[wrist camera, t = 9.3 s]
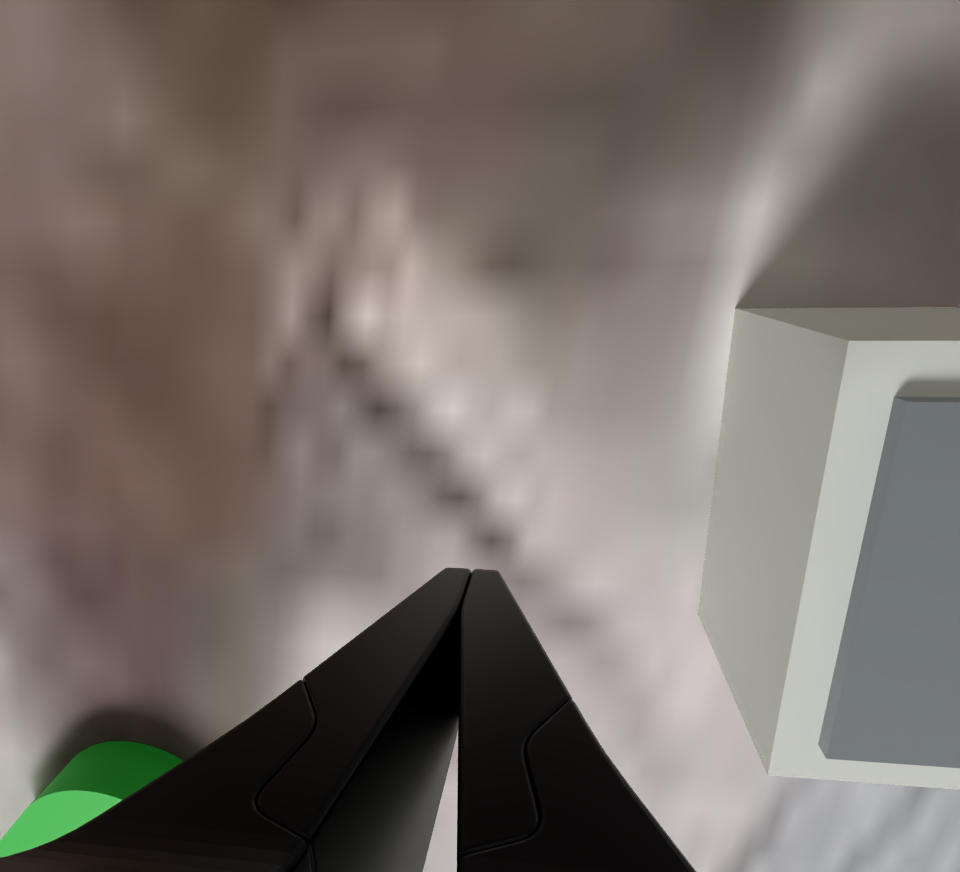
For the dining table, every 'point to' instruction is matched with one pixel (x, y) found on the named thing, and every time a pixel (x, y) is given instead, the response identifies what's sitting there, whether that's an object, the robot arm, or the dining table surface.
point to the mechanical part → (86, 791)
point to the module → (841, 542)
